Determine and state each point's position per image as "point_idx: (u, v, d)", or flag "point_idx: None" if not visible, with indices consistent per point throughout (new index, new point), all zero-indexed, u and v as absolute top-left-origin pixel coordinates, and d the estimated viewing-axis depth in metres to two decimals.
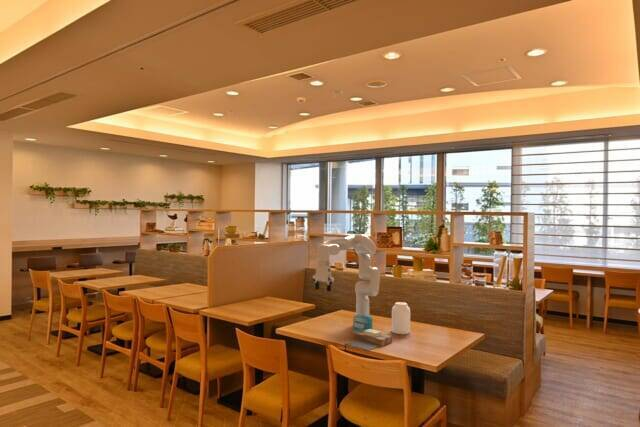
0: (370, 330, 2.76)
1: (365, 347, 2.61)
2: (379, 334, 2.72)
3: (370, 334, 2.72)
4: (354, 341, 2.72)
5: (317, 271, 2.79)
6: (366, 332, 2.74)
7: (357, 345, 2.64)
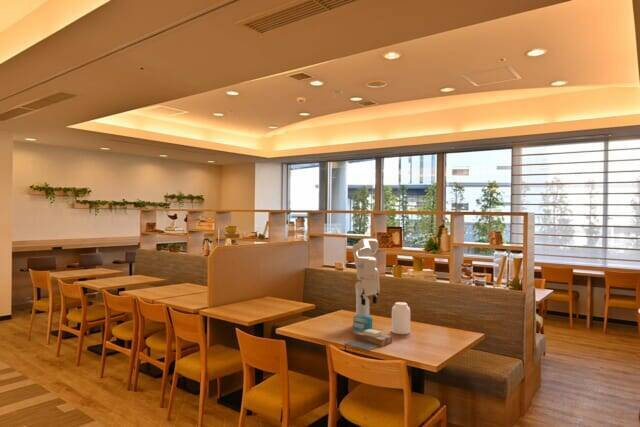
0: (370, 330, 2.76)
1: (365, 347, 2.61)
2: (379, 334, 2.72)
3: (370, 334, 2.72)
4: (354, 341, 2.72)
5: (368, 286, 2.76)
6: (366, 332, 2.74)
7: (357, 345, 2.64)
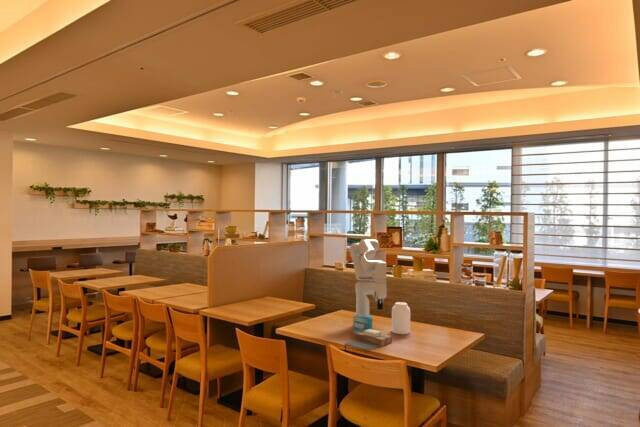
0: (370, 330, 2.76)
1: (365, 347, 2.61)
2: (379, 334, 2.72)
3: (370, 334, 2.72)
4: (354, 341, 2.72)
5: (380, 289, 2.77)
6: (366, 332, 2.74)
7: (357, 345, 2.64)
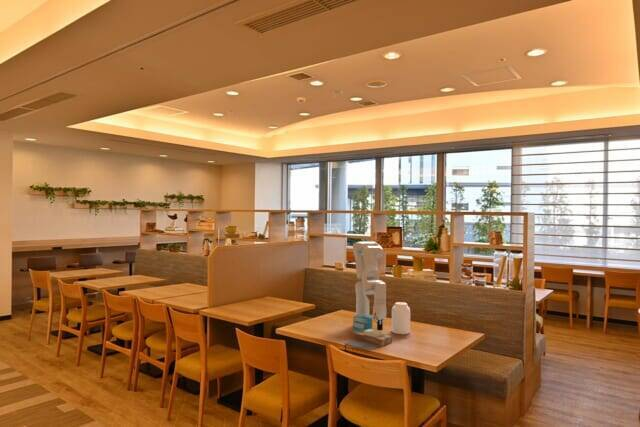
0: (370, 330, 2.76)
1: (365, 347, 2.61)
2: (379, 334, 2.72)
3: (370, 334, 2.72)
4: (354, 341, 2.72)
5: (380, 310, 2.77)
6: (366, 332, 2.74)
7: (357, 345, 2.64)
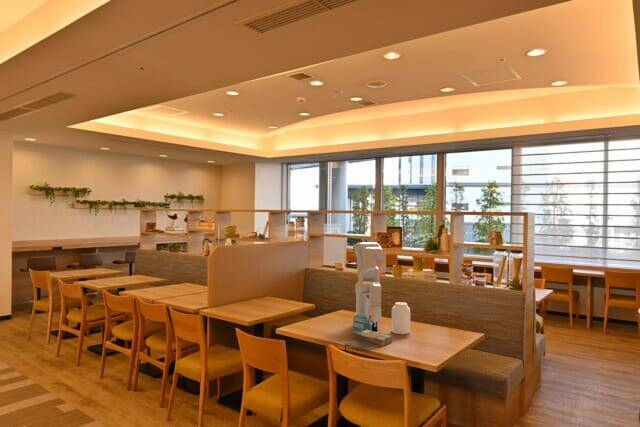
0: (368, 331, 2.74)
1: (365, 347, 2.61)
2: (377, 335, 2.70)
3: (368, 335, 2.70)
4: (354, 341, 2.72)
5: (375, 313, 2.72)
6: (364, 333, 2.72)
7: (357, 345, 2.64)
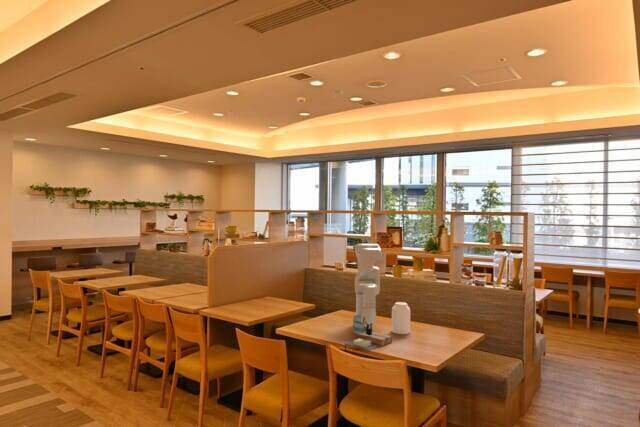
0: None
1: None
2: (367, 344, 2.62)
3: None
4: None
5: (369, 314, 2.68)
6: None
7: (357, 345, 2.64)
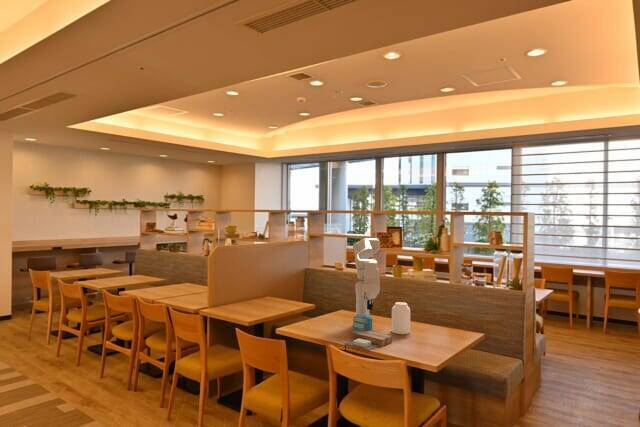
0: None
1: None
2: (367, 344, 2.62)
3: None
4: None
5: (370, 290, 2.70)
6: None
7: (357, 345, 2.64)
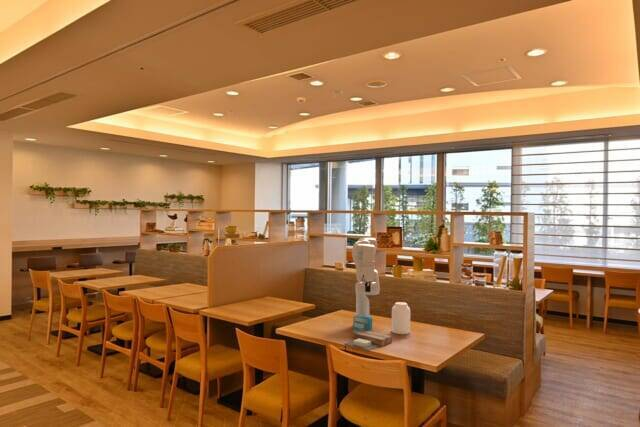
0: None
1: None
2: (367, 344, 2.62)
3: None
4: None
5: (368, 272, 2.82)
6: None
7: (357, 345, 2.64)
